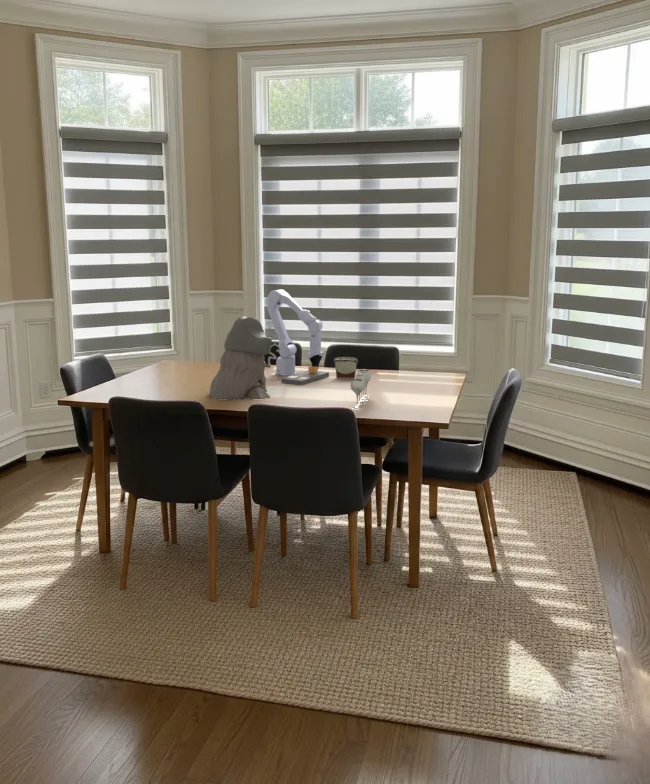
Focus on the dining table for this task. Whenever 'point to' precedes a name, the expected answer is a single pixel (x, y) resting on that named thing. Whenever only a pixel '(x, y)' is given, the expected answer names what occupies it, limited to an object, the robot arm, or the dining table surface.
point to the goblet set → (361, 384)
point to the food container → (345, 367)
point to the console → (304, 377)
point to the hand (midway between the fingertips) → (315, 369)
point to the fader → (313, 369)
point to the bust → (243, 362)
